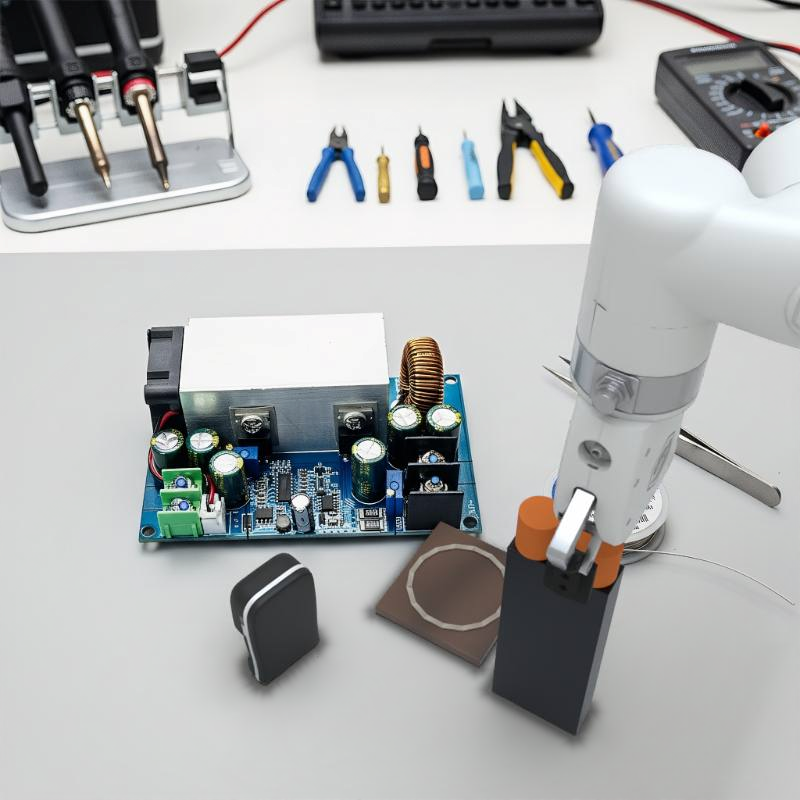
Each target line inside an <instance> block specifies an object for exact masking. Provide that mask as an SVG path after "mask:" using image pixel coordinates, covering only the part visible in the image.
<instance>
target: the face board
mask: <svg viewBox="0 0 800 800" xmlns="http://www.w3.org/2000/svg"><path fill="white" fill-rule="evenodd" d="M506 554H507V551H506V550H503V549H501V548H499V547H496V546H495V545H492V544H490V543H488V542H486V541H484V540H482V539H480V538H477V537H475V536H473V535H471V534H469V533H467V532H465V531H462V530H461V529H458V528H456V527H454V526H452V525H450V524H447V523H446V522H443V521H439V523H438V524H437V525H436V526H435V528H434V529H433V531H432V532H431V533H430V534H429V535H428V536H427V538H426V539H425V541H424V542H423V543H422V545H421V546H420V547H419V548H418V550H417V551H416V553H415V554H414V555H413V557H412V558H411V559H410V560H409V562H408V563H407V564H406V565H405V567H404V569H402V571H401V572H400V574H399V575H398V576H397V578H396V579H395V580H394V581H393V583H392V584H391V585H390V587H388V589H387V590H386V592H385V593H384V594H383V596H382V597H381V598H380V600H379V601H378V602H377V604H376V605H375V613H376V614H377V615H379V616H381V617H384V618H385V619H387V620H388V621H391V622H392V623H395V624H397V625H398V626H401V627H402V628H405V629H406V630H408V631H410V632H412V633H414V634H416V635H417V636H420V637H421V638H423V639H425V640H426V641H429V642H431V643H433V644H435V645H437V646H438V647H440V648H442V649H444V650H446V651H448V652H450V653H452V654H453V655H456V656H458V657H459V658H461V659H463V660H465V661H467V662H469V663H471V664H472V665H474V666H476V667H478V668H479V667H481V665H482V663H483V662H484V661H485V659H486V657H487V656H488V654H489V652H490V651H491V649H492V648H493V647H494V645H495V644H496V643H497V637H498V628H499V618H500V609H501V600H502V591H503V582H504V573H505V563H506Z"/></svg>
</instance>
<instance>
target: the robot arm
mask: <svg viewBox="0 0 800 800" xmlns="http://www.w3.org/2000/svg"><path fill="white" fill-rule="evenodd" d="M580 298H581V299H580V305H579V309H578V310H579V311H578V314H577V315H578V316H577V323H576V327H575V335H574V339H573V340H574V342H573V347H572V353H571V359H570V363H569V378H570V382H571V384H572V386H573V388H574V390H575V391H576V393H577V396H576V400H575V404H574V406H573V411H572V415H571V417H570V420H569V424H568V425H569V426H568V430H567V434H566V437H565V440H564V445H563V449H562V454H561V459H560V462H559V467H558V471H557V472H558V473H557V477H556V482H555V489H554V495H553V499H554V503H553V510H554V514H555V516H556V518H557V520H558V521H559V520H560V522H559V524H558V527H557V529H556V532H555V534H554V536H553V538H552V540H551V542H550V544H549V546H548V549H547V551H546V557H547V562H546V568H545V574H544V579H543V584H544V586H545V587H546V588H548V589H550V590H552V591H553V592H554V593H555V594H557V595H559V596H561V597H563V598H565V599H571V600H573V601H575V602H577V603H579V604H581V605H587V603H588V601H589V599H590V597H591V593H592V589H593V584H594V580H595V576H596V572H597V567H598V564H596V563H595V562H594V560H595V557H596V555H597V553H598V550H599V548H600V545H601V543H602V541H603V542H606V543H608V544H611V545H613V546H617V545H620V544H622V543H623V542H625V543H626V542H627V540H628V539H629V538H630V536H631V535H632V533H633V531H634V530H635V528H636V527H637V525H638V523H639V521H640V519H641V518H642V517H643V515H644V513H645V511H646V509H647V508H648V506H649V504H650V502H651V501H652V499H653V497H654V496H655V494H656V493H657V490H658V488H659V487H660V485H661V483H662V482H663V480H664V478H665V476H666V475H667V472H668V471H669V468H670V467H671V464H672V462H673V459H674V457H675V454H676V450H677V446H678V443H679V442H678V441H679V437H680V433H681V429H682V425H683V424H682V423H683V419H684V414H685V412H686V411H687V410H688V409H689V408H691V407H692V406H693V404H694V403H695V401H696V400H697V398H698V395H699V393H700V389H701V385H702V381H703V378H704V376H705V375H704V374H705V371H706V368H707V364H708V361H709V357H710V354H711V350H712V348H713V344H714V340H715V338H716V334H717V330H718V327H719V324H723V325H724V326H729V327H731V328H734V329H737V330H740V331H743V332H746V333H748V334H751V335H754V336H756V337H760V338H762V339H765V340H768V341H771V342H775V343H777V344H781V345H784V346H787V347H791V348H794V349H798V350H800V117H798V118H796V119H793V120H791V121H790V122H787V123H786V124H783V125H782V126H780V127H778V128H777V129H775V130H774V131H773V132H771V133H770V134H768V135H767V136H765V138H763V140H761V141H760V142H759V143H758V144H757V145H756V147H754V149H753V150H752V152H751V153H750V154H749V156H748V158H747V159H746V161H745V163H744V165H743V168H742V169H741V172H740V170H738V169H737V168H736V167H735V166H734V165H733V164H731V163H730V162H729V161H728V160H726V159H724V158H723V157H721V156H719V155H717V154H715V153H713V152H710V151H708V150H705V149H702V148H698V147H694V146H687V145H680V144H656V145H655V144H654V145H648V146H644V147H643V146H642V147H639V148H637V149H634V150H632V151H630V152H627V153H625V154H623V155H622V156H621V157H619V158H618V159H617V160H615V162H614V163H612V165H611V166H610V167H609V168H608V170H607V171H606V172H605V175H604V177H603V178H602V181H601V183H600V187H599V192H598V196H597V201H596V208H595V213H594V219H593V226H592V231H591V239H590V244H589V250H588V258H587V263H586V269H585V275H584V281H583V286H582V293H581V297H580ZM593 511H594V514H593V520H590V517H591V515H592V513H593ZM594 522H595V523H594ZM582 531H585V532H587V533H589V534H591V535H592V537H591V540H590V542H589V545H588V547H587V550H586V552H582V551H580V550H578V549H576V548H575V546H576V544H577V541H578V539H579V537H580V535H581V533H582Z"/></svg>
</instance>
